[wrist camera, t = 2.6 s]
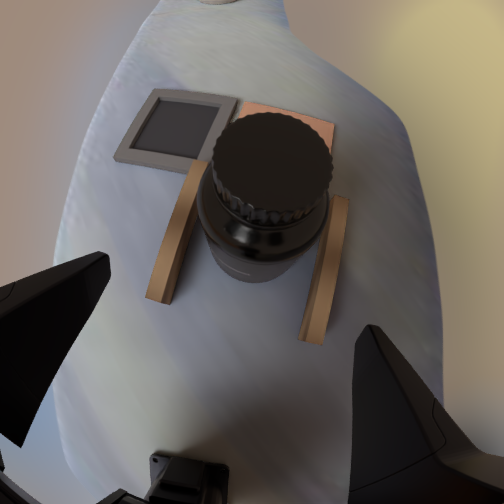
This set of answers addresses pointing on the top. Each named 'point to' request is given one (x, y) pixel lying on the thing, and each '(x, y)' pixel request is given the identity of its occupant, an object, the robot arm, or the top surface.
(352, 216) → the top surface
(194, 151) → the trap pit
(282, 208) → the supplement bottle
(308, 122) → the pad
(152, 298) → the channel
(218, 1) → the supplement can
